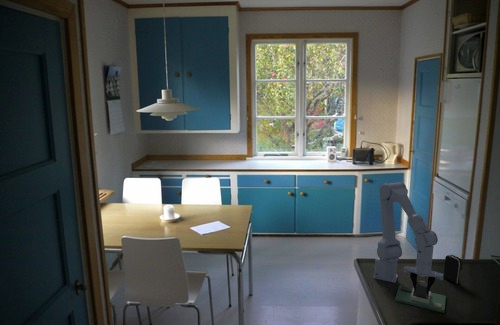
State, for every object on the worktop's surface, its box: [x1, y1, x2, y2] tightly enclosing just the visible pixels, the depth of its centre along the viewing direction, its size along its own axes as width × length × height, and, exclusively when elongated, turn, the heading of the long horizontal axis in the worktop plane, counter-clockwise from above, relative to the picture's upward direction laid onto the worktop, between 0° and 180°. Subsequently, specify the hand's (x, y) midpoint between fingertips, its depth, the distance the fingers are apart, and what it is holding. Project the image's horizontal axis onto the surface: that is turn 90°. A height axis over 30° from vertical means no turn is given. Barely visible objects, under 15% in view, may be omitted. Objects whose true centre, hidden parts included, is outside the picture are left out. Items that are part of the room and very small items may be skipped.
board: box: [394, 285, 447, 314], centre depth 161 cm, size 18×12×2 cm, turn 62°
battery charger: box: [443, 254, 464, 284], centre depth 176 cm, size 7×4×11 cm, turn 23°
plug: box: [415, 279, 428, 298], centre depth 161 cm, size 4×5×5 cm
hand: (421, 291), depth 160 cm, fingers closed on plug, 4 cm apart
